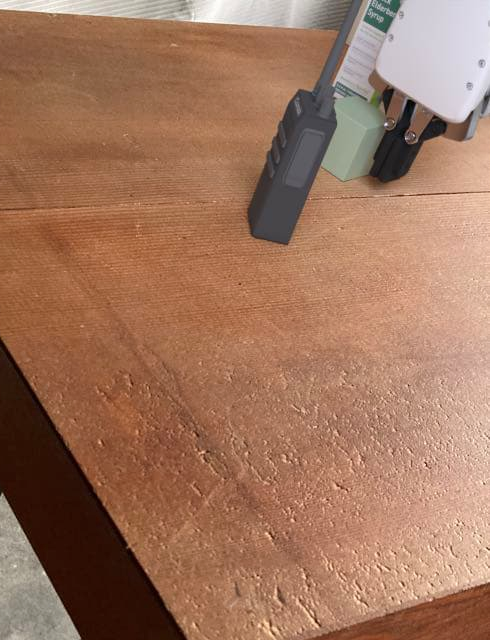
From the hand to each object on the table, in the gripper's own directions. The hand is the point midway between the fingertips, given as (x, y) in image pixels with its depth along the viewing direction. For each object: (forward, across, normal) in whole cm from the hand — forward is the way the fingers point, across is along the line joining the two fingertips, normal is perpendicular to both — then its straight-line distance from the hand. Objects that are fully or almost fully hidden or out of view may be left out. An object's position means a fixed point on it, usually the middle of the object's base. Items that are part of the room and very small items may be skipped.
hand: (384, 176), depth 88 cm
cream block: (+1, +22, -28) cm, 36 cm away
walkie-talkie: (+2, -1, +17) cm, 17 cm away
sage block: (+2, +5, 0) cm, 5 cm away
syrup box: (+2, +13, -14) cm, 20 cm away
